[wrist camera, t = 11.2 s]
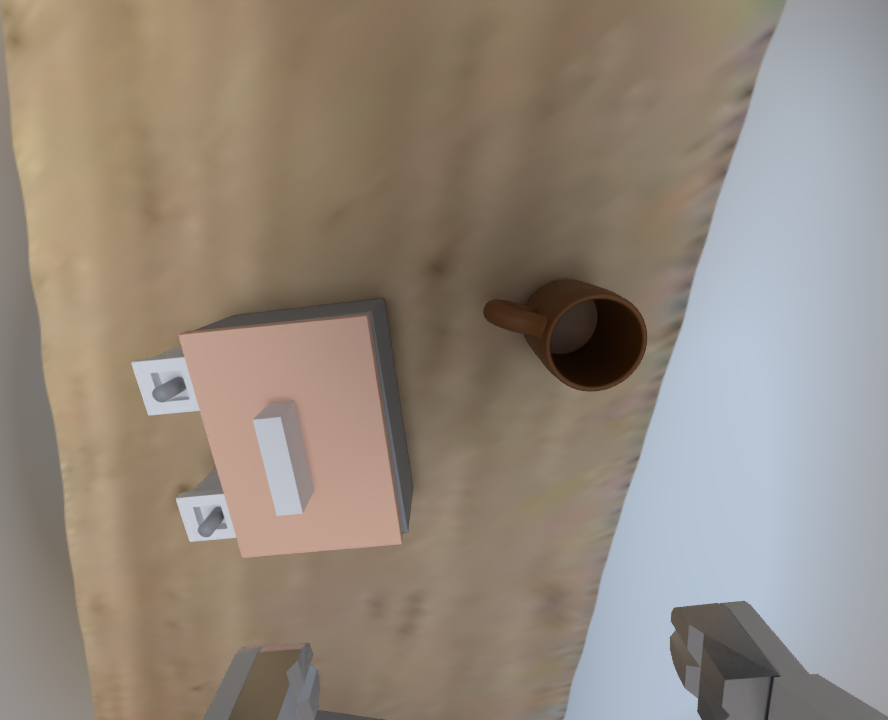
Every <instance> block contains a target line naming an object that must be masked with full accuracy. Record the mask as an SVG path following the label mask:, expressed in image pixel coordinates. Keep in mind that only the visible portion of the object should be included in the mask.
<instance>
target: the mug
mask: <svg viewBox="0 0 888 720" xmlns="http://www.w3.org/2000/svg"><path fill="white" fill-rule="evenodd" d="M483 313H484V317H485V318H486V319H487V320H488V321H489V322H490V323H492V324H494V325H496V326H498V327H501V328H504V329H507V330H510V331H514V332H518V333H524V336H525V338H526V340H527V342H528V344H529V346H530V347H531V348H532V350H533V351H534V352H535V354H536V355H537V356H538V358H539V359H540V360H541V362H542V363H543V364H544V365H545V367H546V368H547V369H548V370H549V371H550V372H551V373H552V374H553V375H554V376H555V377H557V378H558V379H559V380H560V381H561V382H563V383H564V384H566V385H567V386H569V387H571V388H574V389H577V390H581V391H600V390H605V389H608V388H611V387H613V386H616V385H618V384H619V383H621V382H623V381H624V380H625V379H627V378H628V377H629V376H630V375H631V374H632V373H633V372H634V371H635V370H636V368H637V367H638V365H639V364H640V362H641V360H642V358H643V356H644V353H645V350H646V345H647V330H646V325H645V322H644V319H643V317H642V315H641V313H640V312H639V311H638V309H637V308H636V307H635V306H634V305H633V304H632V303H631V302H629V301H628V300H626V299H625V298H623V297H621V296H619V295H618V294H616V293H614V292H612V291H609V290H606V289H603V288H600V287H597V286H594V285H591V284H587V283H584V282H581V281H576V280H568V279H566V280H558V281H554V282H551V283H549V284H547V285H545V286H543V287H541V288H540V289H539V290H538V291H536V292H535V293H534V294H533V296H532V297H531V298H530V300H529V301H528V303H527V305H526V306H525V305H521V304H518V303H514V302H510V301H505V300H491V301H489V302H488V303H486V305H485V307H484V311H483Z"/></svg>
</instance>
